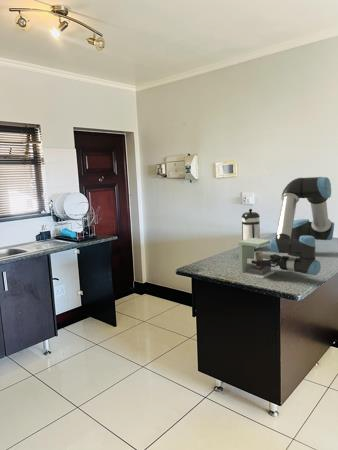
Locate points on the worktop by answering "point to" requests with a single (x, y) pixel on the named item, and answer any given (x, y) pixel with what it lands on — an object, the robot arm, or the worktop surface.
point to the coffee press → (250, 226)
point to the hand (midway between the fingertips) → (253, 257)
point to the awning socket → (248, 252)
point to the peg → (259, 258)
